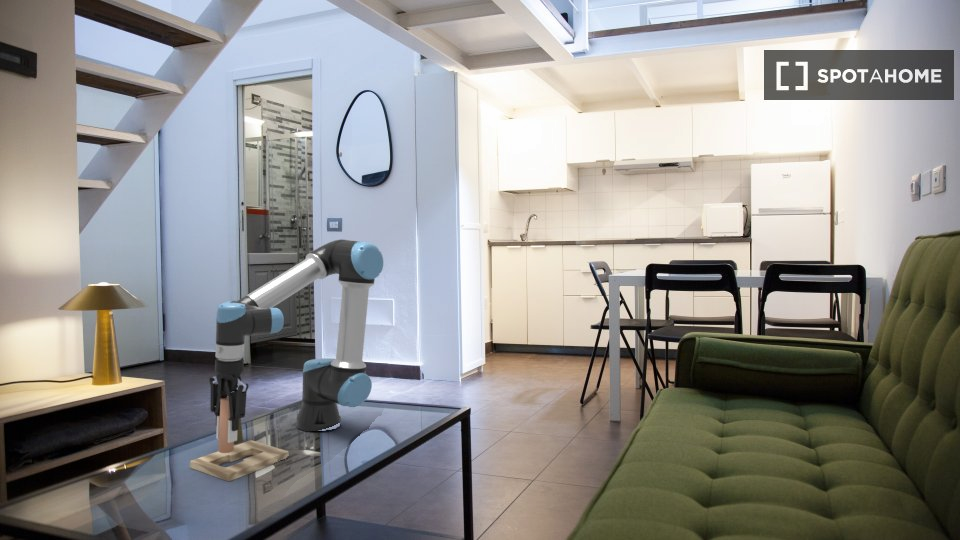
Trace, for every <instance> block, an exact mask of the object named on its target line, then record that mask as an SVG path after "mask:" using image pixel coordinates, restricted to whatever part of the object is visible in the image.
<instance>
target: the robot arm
mask: <svg viewBox="0 0 960 540" xmlns="http://www.w3.org/2000/svg"><path fill="white" fill-rule="evenodd" d="M383 270H384V257H383V254H382V251H380V249H379V248H378V247H377V245H375V244H373V243H370V242H367V241H360V240H358V241H357V240H349V239H336V240H333V241H329V242H327V243H325V244H323V245H322V246H319V247H318V248H316V249H314V250H312V251H311V252H309V253H308V254H306V256H305V259H304V260H302V261H300V262H299V263H297V264H295V265H294V266H292V267H291V268H289V269H287V270H286V271H284V272H282V273H280V274H279V275H278V276H276V277H274V278H273V279H271V280H269V281H267V282H266V283H265V284H263V285H261V286H260V287H258V288H257V289H256V288H255V290H253V291H251V292H250V293H249V294H247V295H245V296H243V297H242V298H240V299H238V300H227V301H225V302H224V303H220V304H219V305H218V307H217V311H216V318H215V323H216V326H215V328H216V329H215V330H216V331H215V358H216V359H215V360H214V372H215V373H216V376H212V377H209V380H208V381H209V384H210V408H209V409H210V412H211V413H214V416H215V427H216V432H215V433H216V436H215V439H216V440H219V424H220V399H221V398H225V397H228V398H229V408H230V417H231V418H229V420H228V443H230V442H234V441H237V430H238V429H239V419H240V418H241V419H242V418H245V417H246V409H247V408H246V407H247V406H246V405H247V392H248V389H249V384H248V383H244V382H243V381H242V377H241V374H242V373H243V372H244V362H245V361H244V359H243V358H244V357H245V338H246V337H249V336H260V335H271V334H276V333H279V332H280V331H281V330H282V329H283V328H284V321H285V319H284V314H283V312H282V310H281V309H279V308H277V307H276V306H277V305H279V304H281V302H284V301H285V300H286V299H288V298H289V297H290V298H291V296H293V295H295V294H296V293H297V292H299V291H301V290H302V289H304V288H305V287H307V286H309V285H310V284H312V283H313V282H315V281H316V280H323V279H326V278H327V277H328V276H332V275H337V274H338V282H339V283H340V285H341V286H342V290H341V301H340V302H341V303H340V311H339V312H340V313H339V320H338V321H339V322H338V331H337V332H338V333H337V341H336V342H337V343H336V354H335V358H334V357H333V358H332V357H325V358H314V359H310V360H307V361H305V362H304V364H303V370H302V392H301V393H302V394H301V397H302V399H301V406H300V408H299V411H298V414H297V417H296V419H295V427H296V428H297V429H299V430H300V431H301V430H302V431H304V432H305V431H306V432H309V431H318V430H322V429H326V428H329V427H332V426H334V425H336V424H338V423H340V422H341V423H342V418H341V415H340V412H339V407H338V405H340V406H343V407H347V408H348V407H349V408H355V407H356V408H357V407H359V406H360V405H361V406H362V404H363V403H364V402H365V401H366V400H367V399H368V398H369V396H370V394H371V391H372V386H373V381H372V379H371V378H370V375H368V374H367V364H366V363H365V362H364V361H363V355H364V345H365V344H364V343H365V337H366V335H365V334H366V325H367V315H368V303H369V302H368V301H369V291H370V288H371V287H372V286H374V285H375V279H376V278H378V277H379V276H380V274H381V273H382V271H383Z"/></svg>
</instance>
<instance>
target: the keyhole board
mask: <svg viewBox="0 0 960 540" xmlns="http://www.w3.org/2000/svg"><path fill="white" fill-rule="evenodd" d="M289 454H290V452H289V451H288V450H284V449H282V448H278V447H276V446H272V445H269V444H265V443H262V442H259V441H255V440H253V439H251V440H246V441H245V442H244V441H243V442H241V443H237V444H234V449H233V451H232V452H230V453H220V452H219V451H218V450H217V451H216V452H211V453H209V454H206V455H203V456H201V457H198V458H194V459H192V460H189V461H190V462H189V468H190V469H193V470H195V471H198V472H200V473H203V474H206V475H209V476H212V477H216V478H218V479H221V480H224V481H227V482H232V481H234V480H237V479H239V478H242V477H244V476H247V475H249V474H251V473H254V472H258V471H259V470H262V469H264V468H267V467H270V466H273V465H274V463H275V462H277V461H279V460H281V459H283V458H285V457H287V456H290V455H289ZM251 455H252V456H251ZM245 457H246V458H245ZM240 459H242V461H240V462H237V463H234V464H232V465H229V466H227V467H225V466H221V465H222V464H225V463H228V462H229V463H232V462H235V461H238V460H240ZM277 463H278V462H277ZM275 464H276V463H275Z"/></svg>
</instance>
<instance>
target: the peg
mask: <svg viewBox="0 0 960 540" xmlns="http://www.w3.org/2000/svg"><path fill="white" fill-rule="evenodd" d="M229 418H231V417H230V408H229V398H228V396H227V397H225V398H221V399H220V424H219V439H218V450H217V451H219V452H220V453H230V452H232V451H233V449H234V446H235V444H234V442H230V443H228V420H229Z"/></svg>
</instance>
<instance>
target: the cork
mask: <svg viewBox="0 0 960 540" xmlns="http://www.w3.org/2000/svg"><path fill="white" fill-rule="evenodd" d="M243 442H244V435H243V427H242V418H240V419H239V429H238V430H237V441H234V445H238V444H241V443H243Z"/></svg>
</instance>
